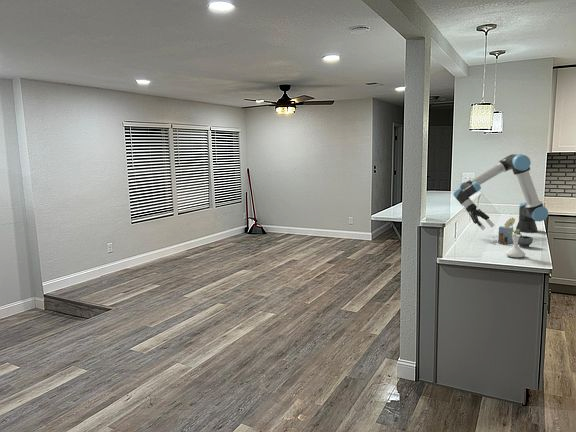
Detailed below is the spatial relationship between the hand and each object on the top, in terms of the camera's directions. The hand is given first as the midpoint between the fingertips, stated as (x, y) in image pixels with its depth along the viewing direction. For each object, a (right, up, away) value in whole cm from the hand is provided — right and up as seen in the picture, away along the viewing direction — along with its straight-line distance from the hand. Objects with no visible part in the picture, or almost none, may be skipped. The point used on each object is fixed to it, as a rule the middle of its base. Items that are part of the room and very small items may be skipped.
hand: (488, 227), depth 321 cm
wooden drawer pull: (+8, -10, -8) cm, 15 cm away
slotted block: (+8, -10, -8) cm, 15 cm away
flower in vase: (-6, -17, -48) cm, 51 cm away
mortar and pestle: (+12, -13, -24) cm, 30 cm away
